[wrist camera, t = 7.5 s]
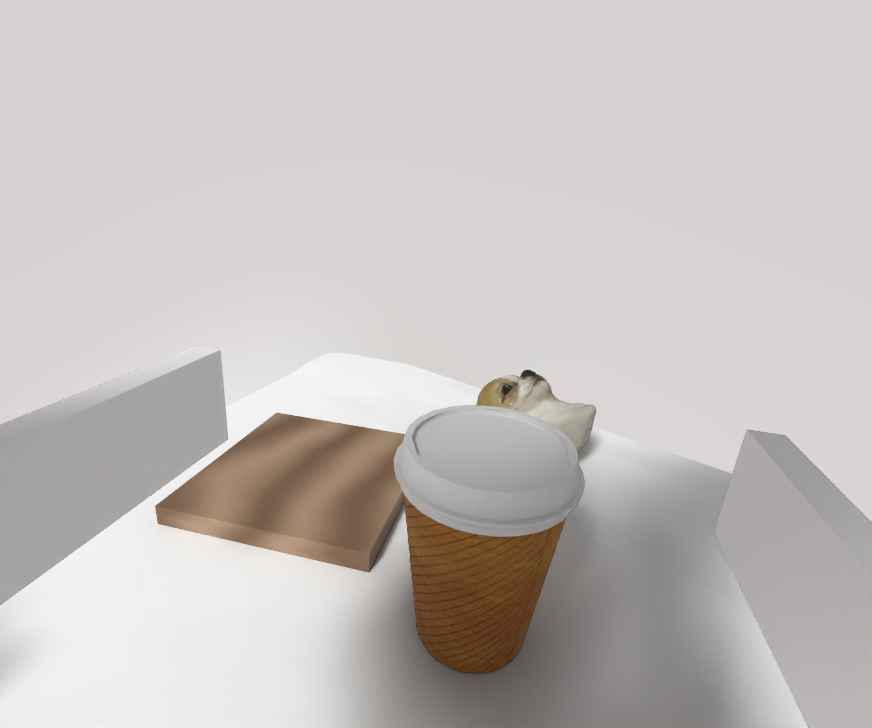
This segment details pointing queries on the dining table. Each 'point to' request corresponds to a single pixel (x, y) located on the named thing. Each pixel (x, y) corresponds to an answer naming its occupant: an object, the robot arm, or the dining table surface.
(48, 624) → the dining table surface
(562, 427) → the ceramic sculpture
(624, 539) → the dining table surface
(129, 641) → the dining table surface
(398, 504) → the walnut board
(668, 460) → the dining table surface
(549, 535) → the disposable coffee cup
